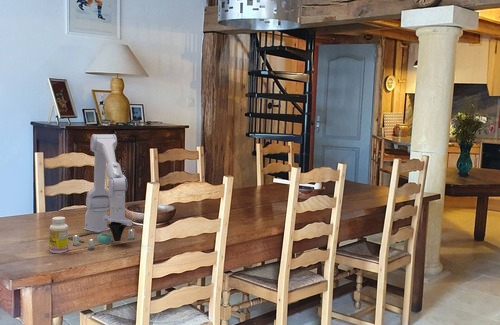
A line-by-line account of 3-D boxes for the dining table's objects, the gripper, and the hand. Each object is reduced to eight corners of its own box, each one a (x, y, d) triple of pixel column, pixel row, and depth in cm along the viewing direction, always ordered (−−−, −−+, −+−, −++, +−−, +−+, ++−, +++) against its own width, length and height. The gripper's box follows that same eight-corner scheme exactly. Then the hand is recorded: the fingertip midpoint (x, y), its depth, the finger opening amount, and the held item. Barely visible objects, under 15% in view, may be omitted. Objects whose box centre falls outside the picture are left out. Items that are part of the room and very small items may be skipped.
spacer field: (71, 245, 210) (71, 235, 210) (116, 234, 230) (116, 225, 229) (90, 250, 204) (90, 240, 204) (135, 238, 224) (135, 229, 223)
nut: (94, 242, 216) (94, 234, 216) (105, 239, 221) (105, 232, 221) (103, 244, 213) (103, 237, 213) (114, 242, 218) (114, 234, 218)
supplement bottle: (46, 250, 202) (46, 217, 200) (63, 247, 206) (63, 215, 205) (54, 254, 197) (54, 220, 196) (71, 251, 202) (71, 218, 200)
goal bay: (67, 239, 219) (67, 237, 219) (94, 233, 231) (94, 231, 231) (82, 243, 214) (82, 241, 214) (109, 236, 226) (109, 235, 225)
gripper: (97, 206, 212) (97, 239, 213) (122, 211, 204) (122, 246, 206) (110, 203, 218) (110, 236, 219) (136, 208, 210) (135, 242, 211)
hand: (117, 240), depth 213 cm, fingers closed
